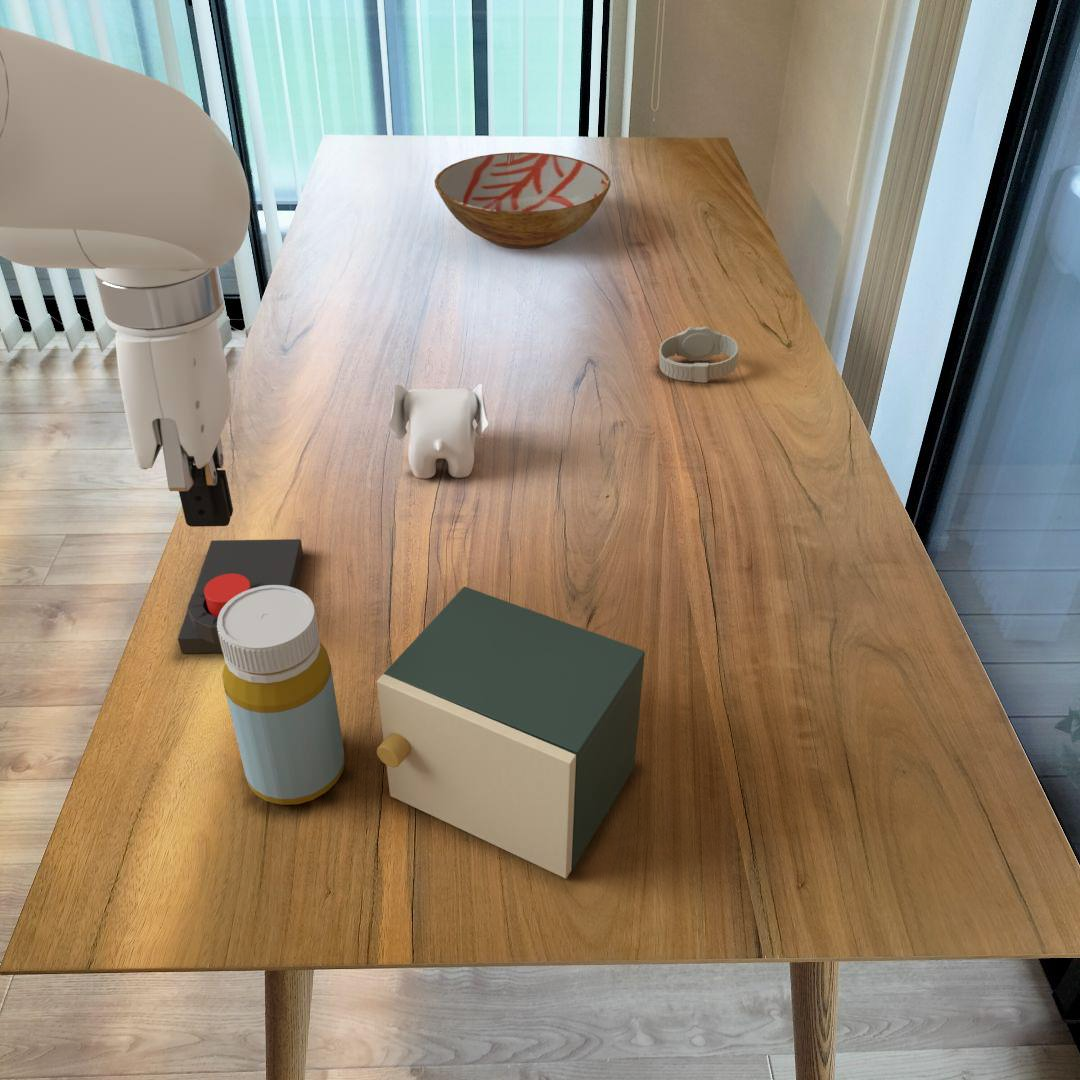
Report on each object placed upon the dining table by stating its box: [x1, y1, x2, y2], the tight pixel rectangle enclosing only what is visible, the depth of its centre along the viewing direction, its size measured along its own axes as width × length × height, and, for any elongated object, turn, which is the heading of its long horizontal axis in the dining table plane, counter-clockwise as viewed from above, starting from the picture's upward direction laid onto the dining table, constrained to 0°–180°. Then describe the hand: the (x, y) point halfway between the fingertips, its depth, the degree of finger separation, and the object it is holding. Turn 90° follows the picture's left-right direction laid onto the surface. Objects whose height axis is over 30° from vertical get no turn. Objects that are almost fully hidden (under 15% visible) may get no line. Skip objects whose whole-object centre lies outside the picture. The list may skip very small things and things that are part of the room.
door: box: [376, 673, 576, 880], centre depth 69 cm, size 2×14×11 cm, turn 61°
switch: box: [177, 538, 304, 655], centre depth 91 cm, size 14×8×4 cm, turn 2°
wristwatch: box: [658, 326, 739, 384], centre depth 124 cm, size 9×6×5 cm
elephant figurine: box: [388, 383, 489, 479], centre depth 108 cm, size 10×12×9 cm
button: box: [204, 574, 251, 617], centre depth 87 cm, size 4×4×2 cm
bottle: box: [217, 585, 346, 806], centre depth 73 cm, size 7×7×15 cm
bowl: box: [434, 151, 611, 250], centre depth 156 cm, size 25×25×8 cm
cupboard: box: [383, 585, 646, 871], centre depth 74 cm, size 10×14×12 cm
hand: (210, 519), depth 81 cm, fingers closed
